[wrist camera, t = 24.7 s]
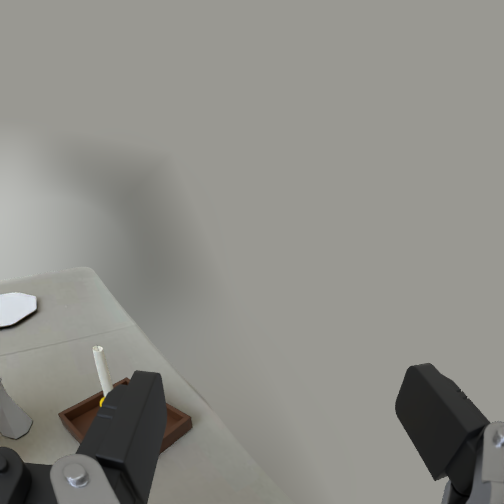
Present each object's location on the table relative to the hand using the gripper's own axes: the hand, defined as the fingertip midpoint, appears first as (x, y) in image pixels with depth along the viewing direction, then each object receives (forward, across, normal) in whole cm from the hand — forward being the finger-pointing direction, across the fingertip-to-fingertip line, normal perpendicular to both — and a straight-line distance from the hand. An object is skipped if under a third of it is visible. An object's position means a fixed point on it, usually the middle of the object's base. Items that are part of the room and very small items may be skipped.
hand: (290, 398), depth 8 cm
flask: (+17, +39, +30) cm, 52 cm away
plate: (+55, +76, +30) cm, 99 cm away
